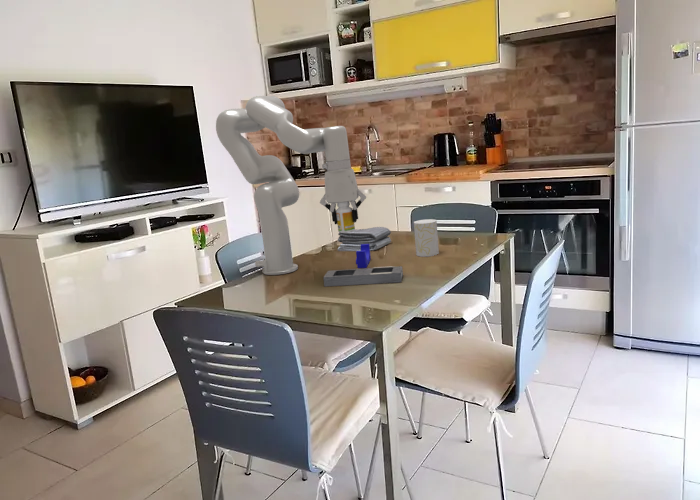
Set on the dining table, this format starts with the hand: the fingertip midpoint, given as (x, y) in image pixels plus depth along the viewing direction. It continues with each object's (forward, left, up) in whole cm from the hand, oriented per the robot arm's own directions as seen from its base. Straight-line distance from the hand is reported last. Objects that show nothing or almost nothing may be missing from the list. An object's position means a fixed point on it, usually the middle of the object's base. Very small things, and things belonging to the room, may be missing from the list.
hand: (345, 222), depth 185 cm
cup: (+24, +25, -18) cm, 39 cm away
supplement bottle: (0, 0, -3) cm, 3 cm away
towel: (-2, +45, -19) cm, 49 cm away
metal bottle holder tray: (+5, -7, -18) cm, 20 cm away
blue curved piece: (+1, +16, -18) cm, 25 cm away
